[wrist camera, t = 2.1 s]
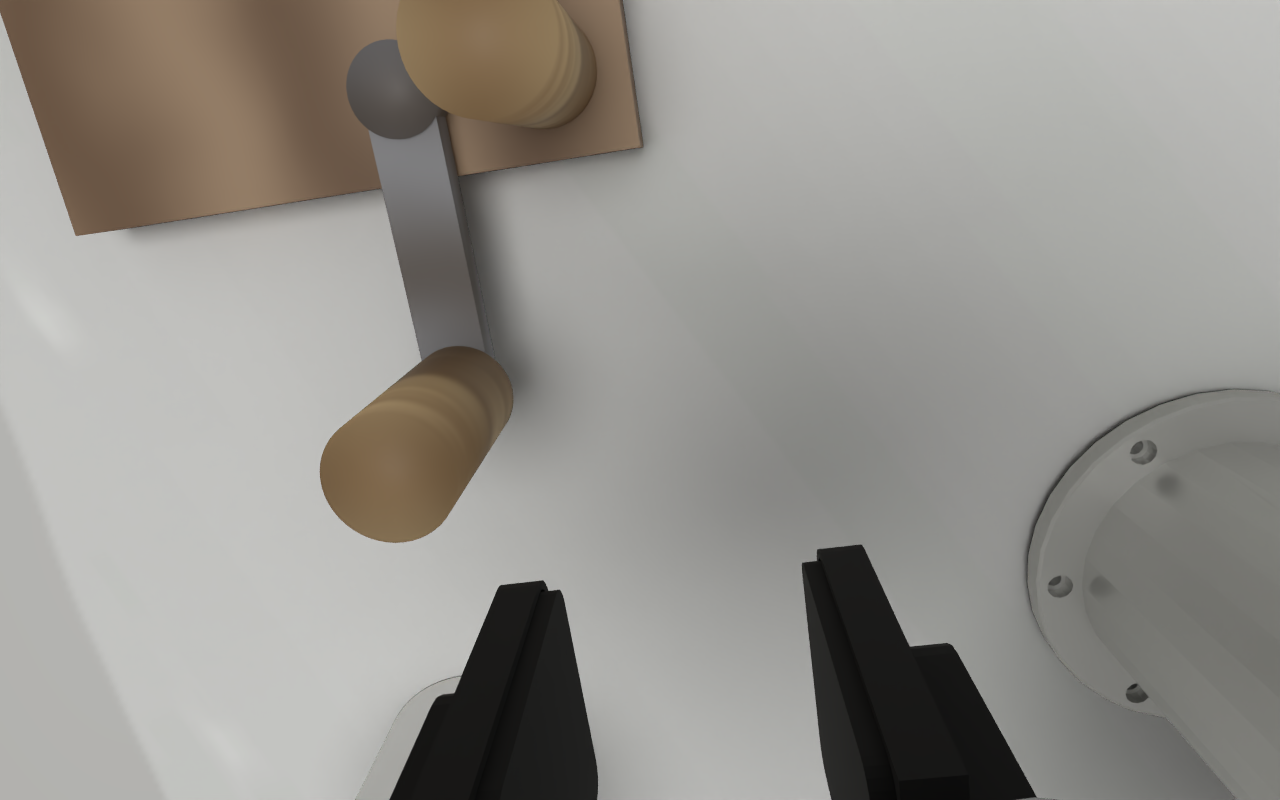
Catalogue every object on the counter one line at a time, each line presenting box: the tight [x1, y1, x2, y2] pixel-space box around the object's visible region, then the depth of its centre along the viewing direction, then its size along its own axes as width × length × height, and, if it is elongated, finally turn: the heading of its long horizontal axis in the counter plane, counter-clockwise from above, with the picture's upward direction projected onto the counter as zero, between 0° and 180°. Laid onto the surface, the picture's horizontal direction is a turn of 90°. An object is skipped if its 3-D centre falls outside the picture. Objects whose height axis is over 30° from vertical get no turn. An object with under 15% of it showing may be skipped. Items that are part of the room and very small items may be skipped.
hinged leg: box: [320, 39, 513, 543], centre depth 22 cm, size 12×3×8 cm, turn 9°
